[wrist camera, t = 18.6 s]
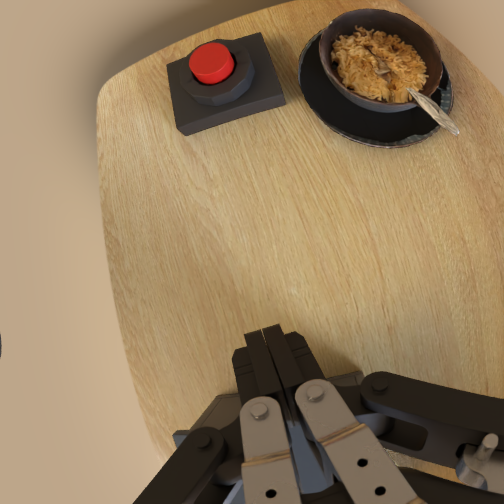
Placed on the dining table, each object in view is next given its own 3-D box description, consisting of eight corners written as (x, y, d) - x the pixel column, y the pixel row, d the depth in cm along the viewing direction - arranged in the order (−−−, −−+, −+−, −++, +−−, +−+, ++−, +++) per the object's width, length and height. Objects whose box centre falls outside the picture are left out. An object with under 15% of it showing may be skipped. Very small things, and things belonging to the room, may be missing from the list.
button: (199, 90, 26) (192, 80, 24) (192, 60, 26) (186, 51, 24) (238, 76, 25) (233, 66, 23) (229, 48, 25) (224, 37, 23)
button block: (185, 136, 30) (168, 121, 26) (174, 74, 30) (158, 55, 26) (286, 105, 28) (280, 84, 24) (264, 43, 28) (257, 20, 24)
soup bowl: (427, 30, 25) (443, -13, 17) (462, 166, 24) (499, 140, 17) (292, 26, 28) (283, -21, 20) (305, 165, 27) (299, 134, 20)
